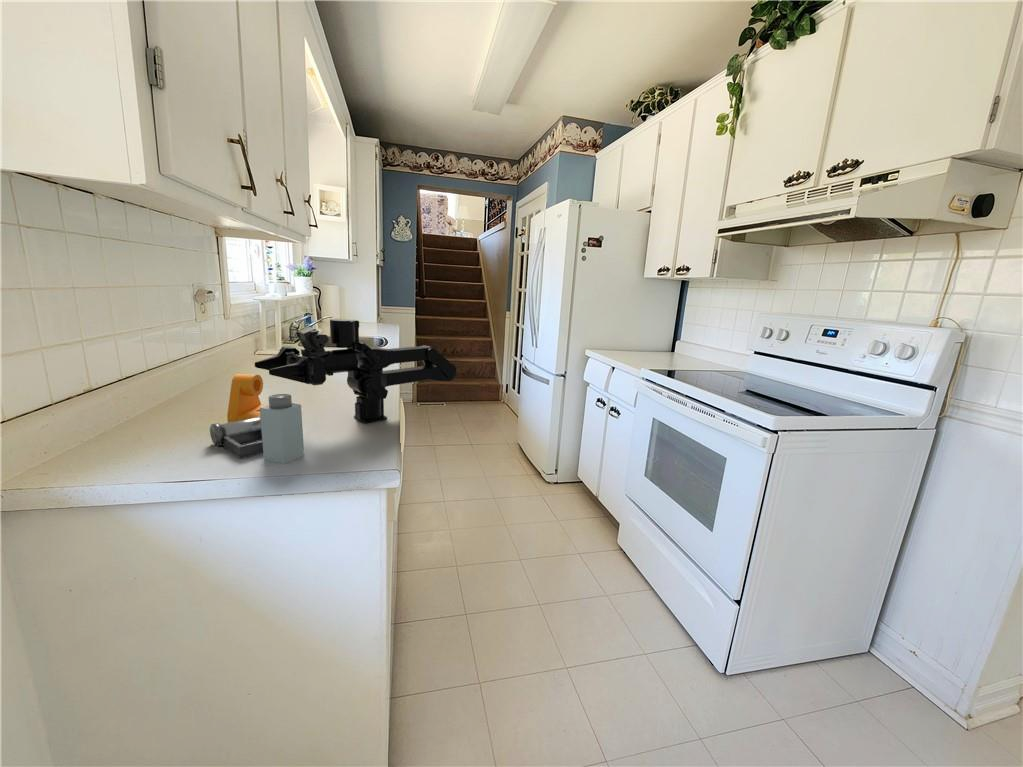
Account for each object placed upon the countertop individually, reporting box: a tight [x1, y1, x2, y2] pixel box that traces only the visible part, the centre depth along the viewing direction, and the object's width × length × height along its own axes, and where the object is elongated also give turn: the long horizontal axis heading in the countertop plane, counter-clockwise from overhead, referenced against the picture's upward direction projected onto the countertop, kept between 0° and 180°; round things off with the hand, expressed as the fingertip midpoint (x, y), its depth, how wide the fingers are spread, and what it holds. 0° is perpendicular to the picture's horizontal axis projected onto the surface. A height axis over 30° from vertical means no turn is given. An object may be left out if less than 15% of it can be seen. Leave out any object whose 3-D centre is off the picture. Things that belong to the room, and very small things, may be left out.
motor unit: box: [209, 417, 263, 460], centre depth 93 cm, size 13×13×5 cm
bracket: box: [226, 373, 268, 423], centre depth 106 cm, size 11×7×12 cm, turn 1°
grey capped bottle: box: [260, 393, 305, 465], centre depth 86 cm, size 5×5×13 cm
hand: (261, 368), depth 92 cm, fingers open, 9 cm apart
